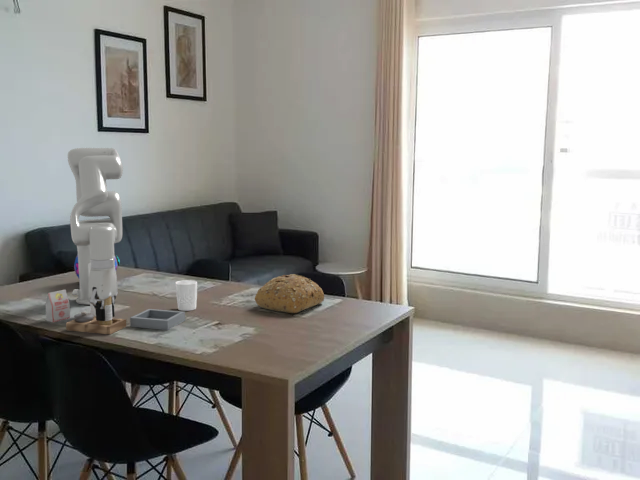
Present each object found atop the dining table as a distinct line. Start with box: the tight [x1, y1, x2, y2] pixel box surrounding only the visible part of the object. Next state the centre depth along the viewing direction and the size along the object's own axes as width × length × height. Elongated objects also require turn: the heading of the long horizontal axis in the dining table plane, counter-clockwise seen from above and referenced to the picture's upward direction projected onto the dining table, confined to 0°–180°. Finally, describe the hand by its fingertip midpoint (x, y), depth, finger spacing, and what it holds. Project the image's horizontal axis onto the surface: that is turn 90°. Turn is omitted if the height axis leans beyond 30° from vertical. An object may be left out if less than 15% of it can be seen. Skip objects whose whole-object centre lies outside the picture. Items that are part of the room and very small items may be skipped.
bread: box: [254, 273, 325, 314], centre depth 247 cm, size 24×21×12 cm
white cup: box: [174, 279, 198, 312], centre depth 242 cm, size 8×8×10 cm
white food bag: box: [45, 289, 71, 323], centre depth 227 cm, size 4×7×10 cm, turn 145°
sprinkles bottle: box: [98, 292, 113, 326], centre depth 215 cm, size 5×5×13 cm
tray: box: [129, 308, 186, 331], centre depth 223 cm, size 14×12×3 cm
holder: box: [65, 311, 127, 335], centre depth 217 cm, size 16×9×5 cm, turn 74°
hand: (105, 317), depth 216 cm, fingers closed on sprinkles bottle, 4 cm apart
